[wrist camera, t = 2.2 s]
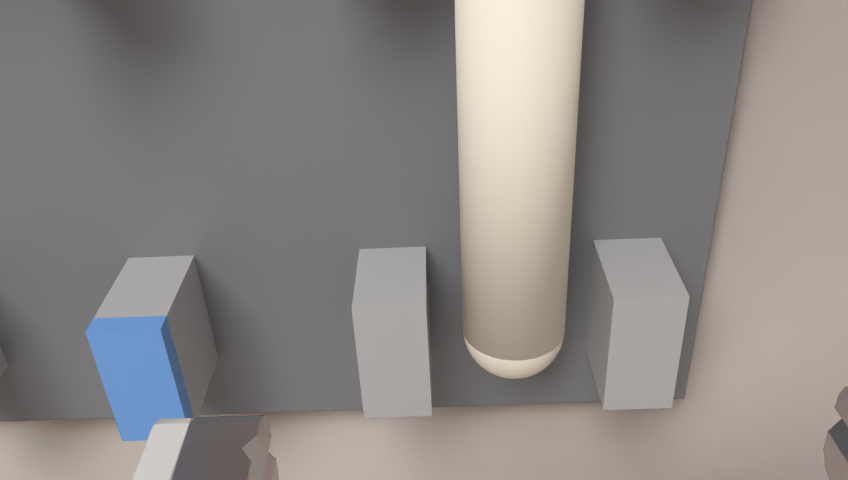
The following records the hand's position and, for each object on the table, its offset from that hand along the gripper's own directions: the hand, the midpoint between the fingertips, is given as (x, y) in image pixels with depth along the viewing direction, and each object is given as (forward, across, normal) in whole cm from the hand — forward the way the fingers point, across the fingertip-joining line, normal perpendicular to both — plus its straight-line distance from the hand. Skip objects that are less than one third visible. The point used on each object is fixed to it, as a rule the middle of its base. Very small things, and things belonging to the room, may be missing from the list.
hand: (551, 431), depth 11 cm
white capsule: (+10, -1, 0) cm, 10 cm away
